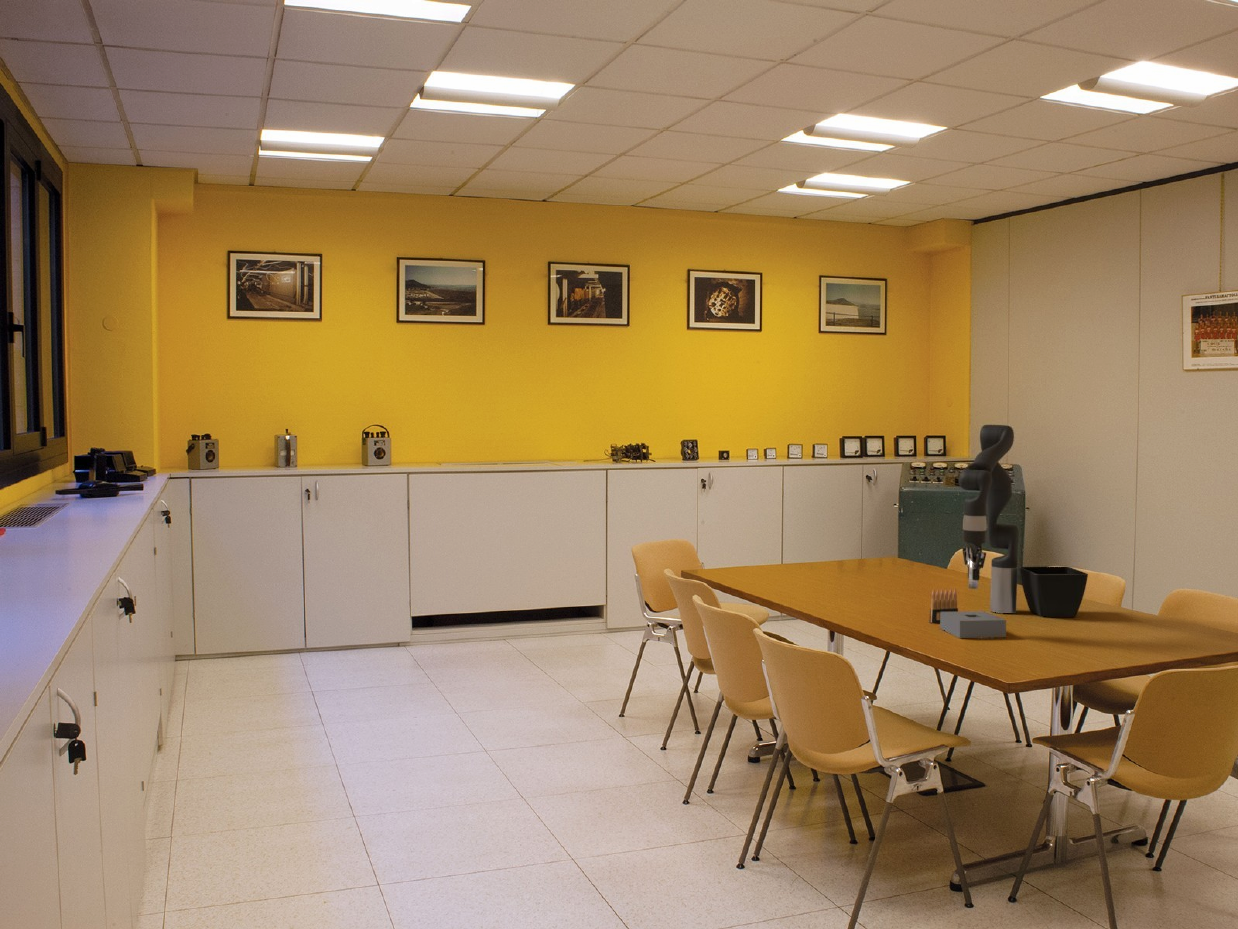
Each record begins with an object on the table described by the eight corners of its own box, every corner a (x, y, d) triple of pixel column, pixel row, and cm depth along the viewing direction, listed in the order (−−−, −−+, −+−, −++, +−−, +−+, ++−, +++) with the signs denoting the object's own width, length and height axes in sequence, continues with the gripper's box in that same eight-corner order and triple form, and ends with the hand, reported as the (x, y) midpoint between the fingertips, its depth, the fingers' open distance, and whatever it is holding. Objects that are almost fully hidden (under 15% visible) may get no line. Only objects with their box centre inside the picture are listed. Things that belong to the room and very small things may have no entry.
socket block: (940, 629, 357) (940, 611, 357) (984, 628, 359) (984, 611, 358) (959, 638, 341) (960, 620, 341) (1005, 638, 343) (1006, 620, 343)
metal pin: (967, 587, 351) (967, 558, 350) (975, 587, 351) (976, 558, 350) (971, 588, 348) (971, 559, 347) (979, 588, 348) (980, 559, 348)
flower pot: (1035, 619, 376) (1036, 573, 375) (1017, 609, 395) (1018, 566, 394) (1088, 619, 375) (1089, 574, 375) (1067, 610, 394) (1068, 566, 393)
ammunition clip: (932, 623, 366) (932, 590, 366) (929, 622, 368) (929, 589, 368) (958, 622, 369) (959, 589, 369) (955, 621, 371) (956, 588, 370)
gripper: (994, 530, 342) (993, 582, 343) (976, 526, 356) (975, 576, 357) (972, 531, 341) (971, 582, 342) (955, 526, 355) (954, 576, 356)
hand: (973, 579), depth 349 cm, fingers closed on metal pin, 3 cm apart
